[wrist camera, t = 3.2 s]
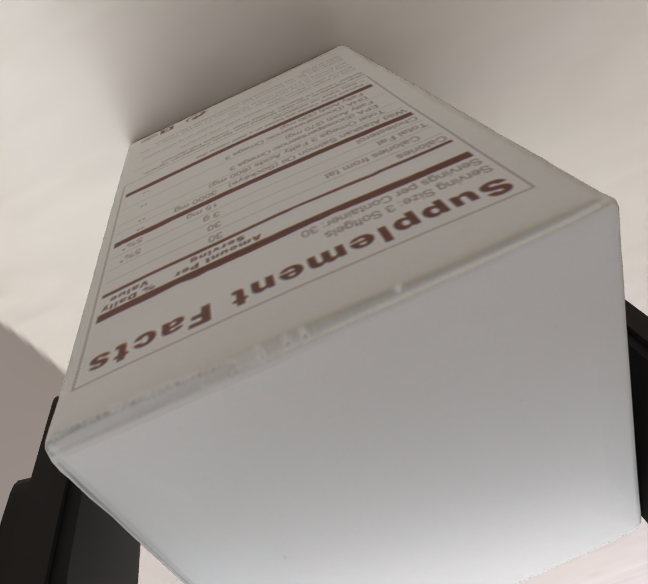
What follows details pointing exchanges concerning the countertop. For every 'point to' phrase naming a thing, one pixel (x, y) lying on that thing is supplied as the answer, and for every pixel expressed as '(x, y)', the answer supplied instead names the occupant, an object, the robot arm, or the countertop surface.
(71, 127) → the countertop surface
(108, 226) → the supplement box
